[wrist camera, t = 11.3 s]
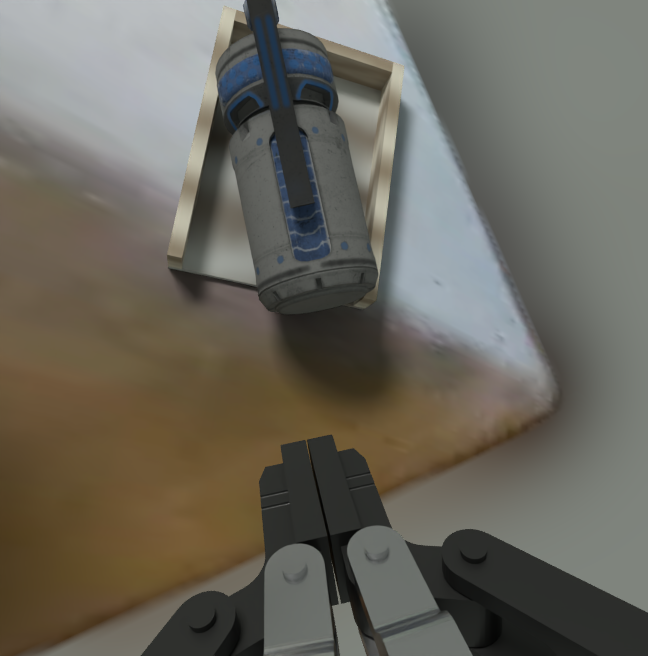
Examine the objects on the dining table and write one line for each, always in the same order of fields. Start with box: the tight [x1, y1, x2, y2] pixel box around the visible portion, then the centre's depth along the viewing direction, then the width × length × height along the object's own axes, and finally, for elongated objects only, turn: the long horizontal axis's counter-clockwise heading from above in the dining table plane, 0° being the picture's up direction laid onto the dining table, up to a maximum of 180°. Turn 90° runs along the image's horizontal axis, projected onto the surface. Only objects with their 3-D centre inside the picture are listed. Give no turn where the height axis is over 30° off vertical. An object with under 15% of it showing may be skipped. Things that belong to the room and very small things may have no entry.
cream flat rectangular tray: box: [167, 6, 404, 310], centre depth 49 cm, size 25×18×4 cm
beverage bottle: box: [215, 0, 378, 315], centre depth 43 cm, size 10×13×25 cm
